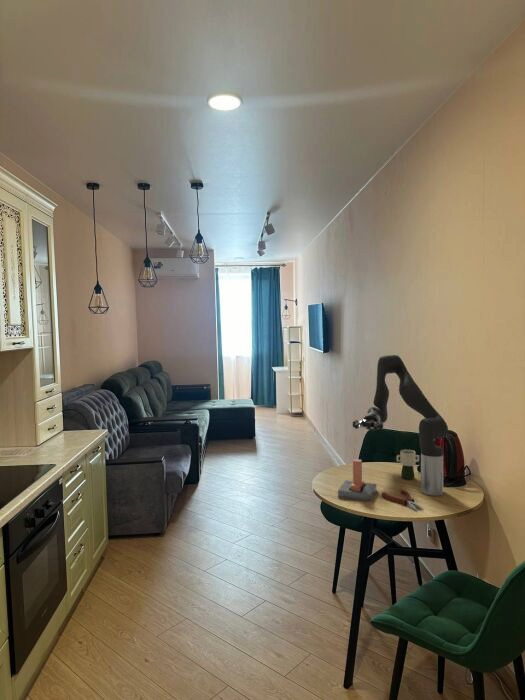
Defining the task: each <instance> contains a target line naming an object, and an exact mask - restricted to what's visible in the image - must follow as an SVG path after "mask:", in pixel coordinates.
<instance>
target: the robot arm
mask: <svg viewBox="0 0 525 700" xmlns="http://www.w3.org/2000/svg"><path fill="white" fill-rule="evenodd" d="M376 368H377V370H376V385H375V386H376V388H375V394H374V399H373V405H374V406H371V407H370V408H368V410H367V414H366V415H365V416H364V417H363V419H362V420H358V419H355V420H353V421H352V428H354V429H355V430H358V429H359V428H360V429H366V430H368V431H376V430H378V429H379V430H383V429H384V423H386V422H387V420H388V407H387V406H388V401H389V397H390V389H389V387H388V385H387V383H386V376H387V375H388V374H396V376H397V378H398V379H399V385H398V386H399V387H398V393H399V396H400V398H401V399H402V400H403V402H405V404H406V405H407V406H408V407H410V409H412V410H414V411H415V412H417V413H419V414H420V415H421V416H422V417H424V418H422V419H421V420H420V421H419V423H418V438H419V442H418V443H419V448H420V492H421V493H422V494H424V495H427V496H434V497H436V496H438V497H439V496H443V495H444V448H443V447H441V446H440V445H436V444H435V440H436V439H437V440H439V439H443V438H445V437H447V436H448V434H449V427H448V424H447V422H446V420H445V419H444V418H443V417H442V416H441V414H440V413H439V412H438V411H437V409H435V407H434V406H433V405H432V403H430V401H429V400H428V399H427V397H426V395H425V394H424V393H423V391H422V390H421V389H420V387H419V386H418V384H417V383H416V382H415V380H414V379H413V377H412V376H411V374H410V372H409V371H408V369H407V367H406V365H405V363H404V361H403V360H402V358H401V357H400V356H399V355H397V354H389V355H382V356H380V357H379V358H378V360H377V367H376Z"/></svg>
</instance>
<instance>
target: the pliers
mask: <svg viewBox="0 0 525 700" xmlns="http://www.w3.org/2000/svg"><path fill="white" fill-rule="evenodd" d="M399 493H400V494H401V495H402V496H404V497H405V498H401V497H398V496H395V495H391V494H389V493H387V492H385V491H383V492H381V497H382V498H383V499H385V500H387V501H389V502H393V503H396V504H400V505H402V507H405V506H407V507H409V509H412V510H414V511H416V512H418V511H419V510H421V511H424V510H425V509H424V508H423V507H421V506H420V505H419V504H417V503H416V502H415V499H414V498H411V495H410V493H409V492H408V491H406V490H404V489H400V491H399Z"/></svg>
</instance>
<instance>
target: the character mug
mask: <svg viewBox="0 0 525 700" xmlns="http://www.w3.org/2000/svg"><path fill="white" fill-rule="evenodd" d="M396 462H397V463H398V462H399V463H400V464H401V465H402V466H401V475H400V476H401V478H404V479H410V480H411V479H414V478H415V469H414V466H415V465H416V463H419V462H420V454H419V455H418V454H417V453H416V451H415V450H414V449H413V450H412V449H401V450H400V454H397V455H396Z"/></svg>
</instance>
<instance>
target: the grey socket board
mask: <svg viewBox="0 0 525 700" xmlns="http://www.w3.org/2000/svg"><path fill="white" fill-rule="evenodd" d="M352 483H353V480H348V479H345V481H344V482H343V483H341V484H342V485H340V487H339V489H338V490H337V497H338V498H341V497H344V498H343V499H348V498H349V500H355V499H357V500H356V501H362V500H363V501H364V502H369V501H371V502H372V500H373V498H374V496H375V494H376V492H377V483H370V482H364V487H363V486H361V492H357V491H351V484H352Z"/></svg>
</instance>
